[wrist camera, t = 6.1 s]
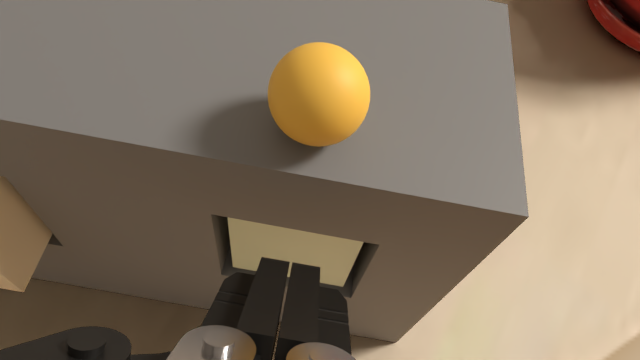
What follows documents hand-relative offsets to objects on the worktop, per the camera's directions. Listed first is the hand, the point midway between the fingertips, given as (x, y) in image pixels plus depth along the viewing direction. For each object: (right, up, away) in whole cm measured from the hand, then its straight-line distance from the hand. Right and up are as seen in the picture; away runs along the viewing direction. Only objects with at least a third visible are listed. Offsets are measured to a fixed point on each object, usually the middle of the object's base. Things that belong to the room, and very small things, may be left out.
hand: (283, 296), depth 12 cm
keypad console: (-6, +1, +12) cm, 14 cm away
